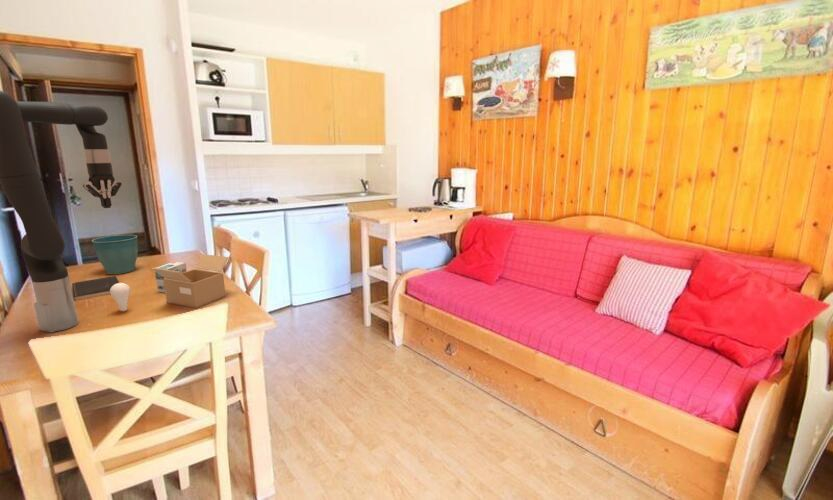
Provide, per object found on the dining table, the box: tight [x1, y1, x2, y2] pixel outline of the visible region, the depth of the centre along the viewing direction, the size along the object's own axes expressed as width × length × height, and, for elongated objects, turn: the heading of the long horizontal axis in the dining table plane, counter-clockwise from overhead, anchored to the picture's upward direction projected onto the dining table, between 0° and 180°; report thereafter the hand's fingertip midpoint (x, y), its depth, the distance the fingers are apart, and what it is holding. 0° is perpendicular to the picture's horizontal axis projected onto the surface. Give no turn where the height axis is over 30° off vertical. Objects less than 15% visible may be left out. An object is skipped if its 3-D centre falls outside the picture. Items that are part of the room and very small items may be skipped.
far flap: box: [194, 253, 229, 273], centre depth 169 cm, size 6×14×1 cm
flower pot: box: [91, 234, 139, 275], centre depth 201 cm, size 18×18×17 cm
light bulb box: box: [154, 261, 187, 293], centre depth 176 cm, size 11×7×11 cm, turn 168°
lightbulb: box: [109, 282, 131, 312], centre depth 151 cm, size 6×6×11 cm
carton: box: [163, 268, 227, 309], centre depth 163 cm, size 14×16×10 cm
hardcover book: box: [71, 275, 120, 302], centre depth 177 cm, size 16×23×2 cm
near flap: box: [151, 267, 191, 282], centre depth 153 cm, size 6×14×1 cm
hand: (107, 207), depth 157 cm, fingers closed
